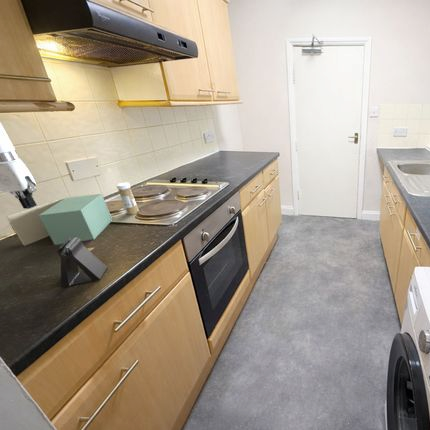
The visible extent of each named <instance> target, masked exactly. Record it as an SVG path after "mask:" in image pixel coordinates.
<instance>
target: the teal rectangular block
mask: <svg viewBox="0 0 430 430" xmlns="http://www.w3.org/2000/svg"><path fill="white" fill-rule="evenodd" d="M62 199H63V198H62ZM39 217H40V219H41V221H42V223H43V224H44V226H45V228H46V230H47V232H48V234H49V235H50V236H49V238H50V239H51V241H52V243H53V244H54V246H57V245H63V244H64V243H65V242H66V241H67V240H68V239H69V238H71V239H70V241H71V240H72V239H73V238H74V237H78V238H80V239H81V240H82V242H84V241H85V242H86V241H92V240H95V239H96V238H97V237H98V236H99V235H100V234H101V233H102V232H103V231H104V230H105V229H106V228H107V226H108V225H110V223H111V222H112V221H113V218H112V215H111V213H110V210H109V208H108V205H107V203H106V201H105V198H104V196H103V194H102V193H97V194H88V195H79V196H69V197H65V199H63V200H62V201H60V202H59V203H57V204H55V205H54V206H52V207H51V208H49V209H48V210H46V211H44V212H43V213H41V214H40V215H39ZM110 221H111V222H110Z"/></svg>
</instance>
